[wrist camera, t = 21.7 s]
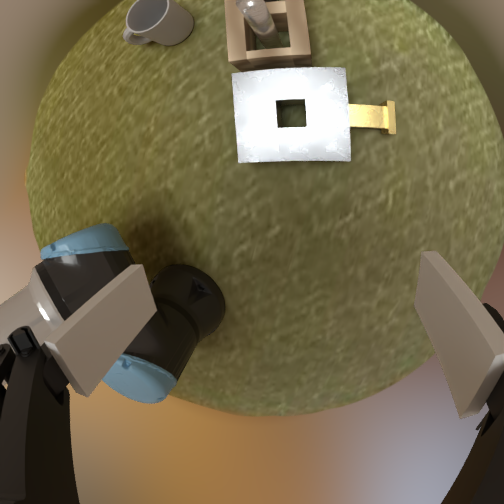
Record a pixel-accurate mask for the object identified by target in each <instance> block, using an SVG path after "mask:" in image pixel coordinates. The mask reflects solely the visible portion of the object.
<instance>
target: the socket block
mask: <svg viewBox="0 0 504 504" xmlns="http://www.w3.org/2000/svg"><path fill="white" fill-rule="evenodd" d="M232 84H233V97H234V111H235V124H236V137H237V149H238V162H239V163H247V162H269V161H351V147H350V123H349V107H348V94H347V82H346V73H345V68H338V67H303V68H281V69H268V70H257V71H248V72H240V73H233V74H232ZM281 105H306V118H307V127H289V128H283V124H282V110H281Z"/></svg>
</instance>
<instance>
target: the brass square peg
mask: <svg viewBox="0 0 504 504" xmlns="http://www.w3.org/2000/svg"><path fill="white" fill-rule="evenodd" d="M348 107H349V123H350V127H357V128H375V129H381V134H396V122H395V105H394V101H385V102H383V103H381V104H380V106H372V105H356V104H348Z"/></svg>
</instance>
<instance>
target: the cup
mask: <svg viewBox="0 0 504 504" xmlns="http://www.w3.org/2000/svg"><path fill="white" fill-rule="evenodd" d="M126 26H127V28H126V29H125V31H124V34H123V38H124V40H125V41H127V42H128V43H130V44H133V45H142V44H146V43H148V42H150V41H155V42H157V43H159V44H162V45H165V46H171V45H176V44H178V43H180V42H182V41H183V40H184V39H186V38H187V37H188V36H189V34H190V33H191V31H192V29H193V26H194V20H193V17H192V16H191V14H190V13H189V12H188V11H186V10H185V9H184V8H182V7H181V6H180V5H179V4H177V3H176V2H175V1H173V0H137V1H136V2H135V3H134V4H133V5H132V6H131V8H130V10H129V11H128V14H127V16H126ZM134 33H136V34H138V35H141V36H136V35H133V34H134Z"/></svg>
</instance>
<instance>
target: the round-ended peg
mask: <svg viewBox="0 0 504 504" xmlns="http://www.w3.org/2000/svg"><path fill="white" fill-rule="evenodd" d="M236 6H237V7H238V9H239V10H240V12H241V13H242V14H243V16H244V17H245V19H246V20H247V22H248V23H249V25H250V26H251V28H252V29H253V31H254V32H255V34H256V35H257V37H258V38H259V40H260V41H261V43H262V44H263V46H264V48H265V49H273V48H283V44H282V41H281V39H280V36H279V34H278V31H277V29H276V26H275V24H274V22H273V19H272V17H271V15H270V12H269V10H268V8H267V6H266V4H265V1H264V0H236Z"/></svg>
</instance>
